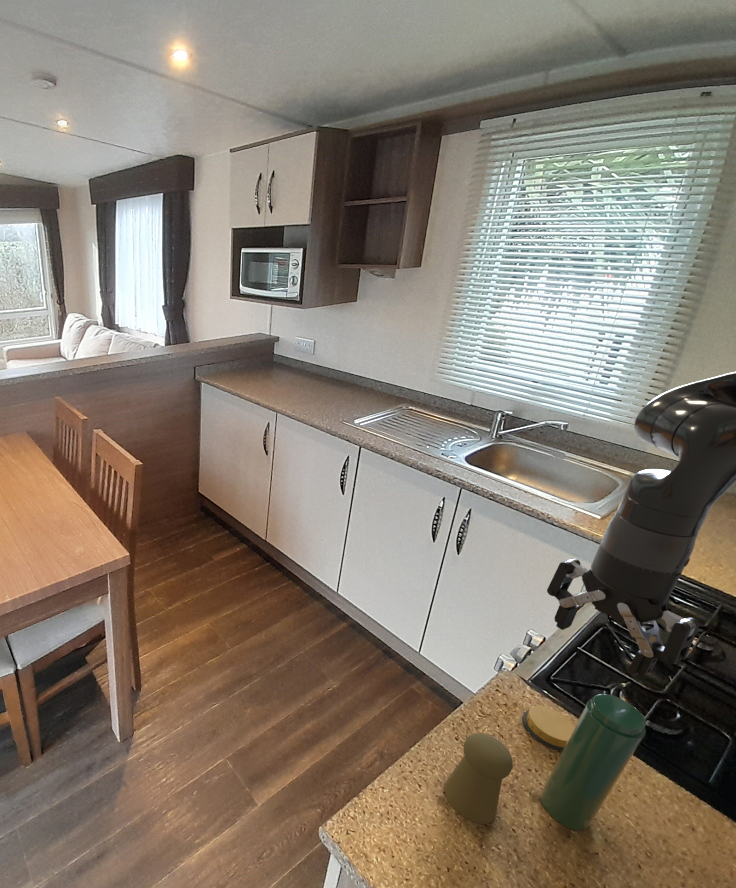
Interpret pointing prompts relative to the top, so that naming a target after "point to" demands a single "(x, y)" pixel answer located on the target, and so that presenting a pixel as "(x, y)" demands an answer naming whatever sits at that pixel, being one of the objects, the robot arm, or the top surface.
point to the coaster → (536, 735)
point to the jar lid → (550, 725)
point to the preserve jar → (592, 760)
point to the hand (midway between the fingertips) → (597, 648)
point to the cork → (479, 778)
